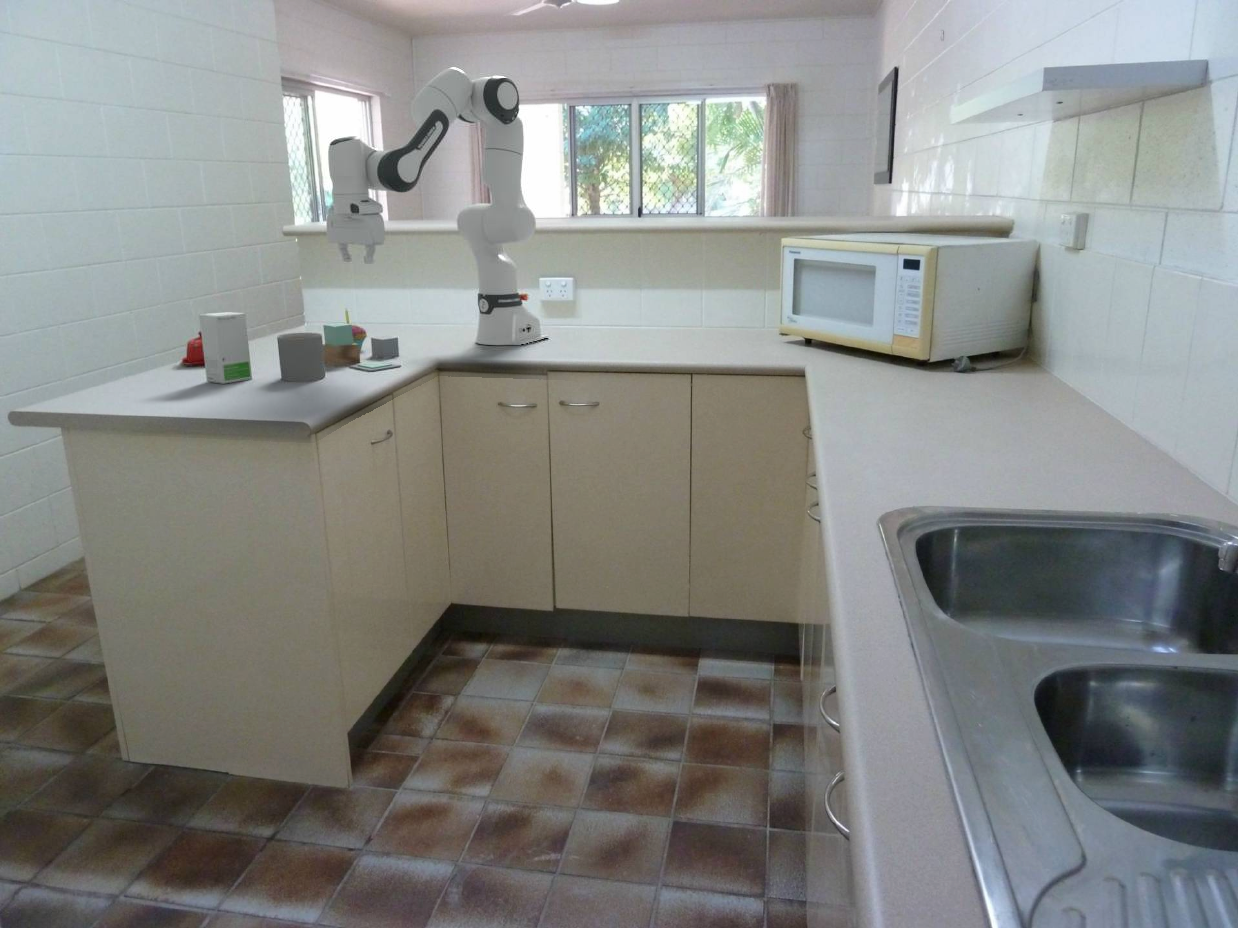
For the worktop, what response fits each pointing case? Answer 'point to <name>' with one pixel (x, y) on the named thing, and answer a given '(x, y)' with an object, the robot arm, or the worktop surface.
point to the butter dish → (194, 352)
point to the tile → (375, 366)
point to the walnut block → (341, 354)
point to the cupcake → (357, 333)
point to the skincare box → (225, 347)
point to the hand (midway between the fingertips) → (358, 262)
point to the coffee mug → (301, 357)
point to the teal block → (338, 334)
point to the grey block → (385, 346)
